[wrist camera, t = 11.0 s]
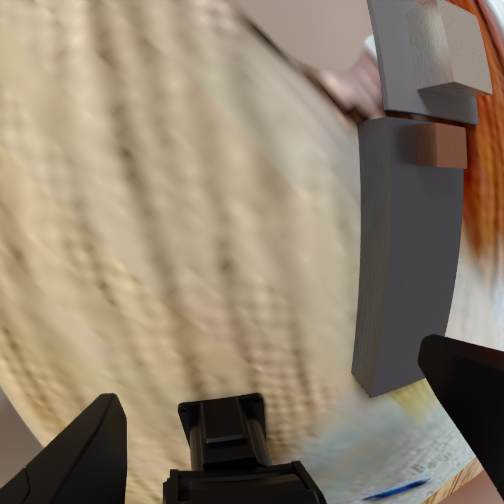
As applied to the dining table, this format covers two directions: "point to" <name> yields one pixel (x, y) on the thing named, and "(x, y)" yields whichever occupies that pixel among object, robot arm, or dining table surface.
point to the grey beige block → (447, 50)
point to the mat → (408, 68)
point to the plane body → (405, 244)
